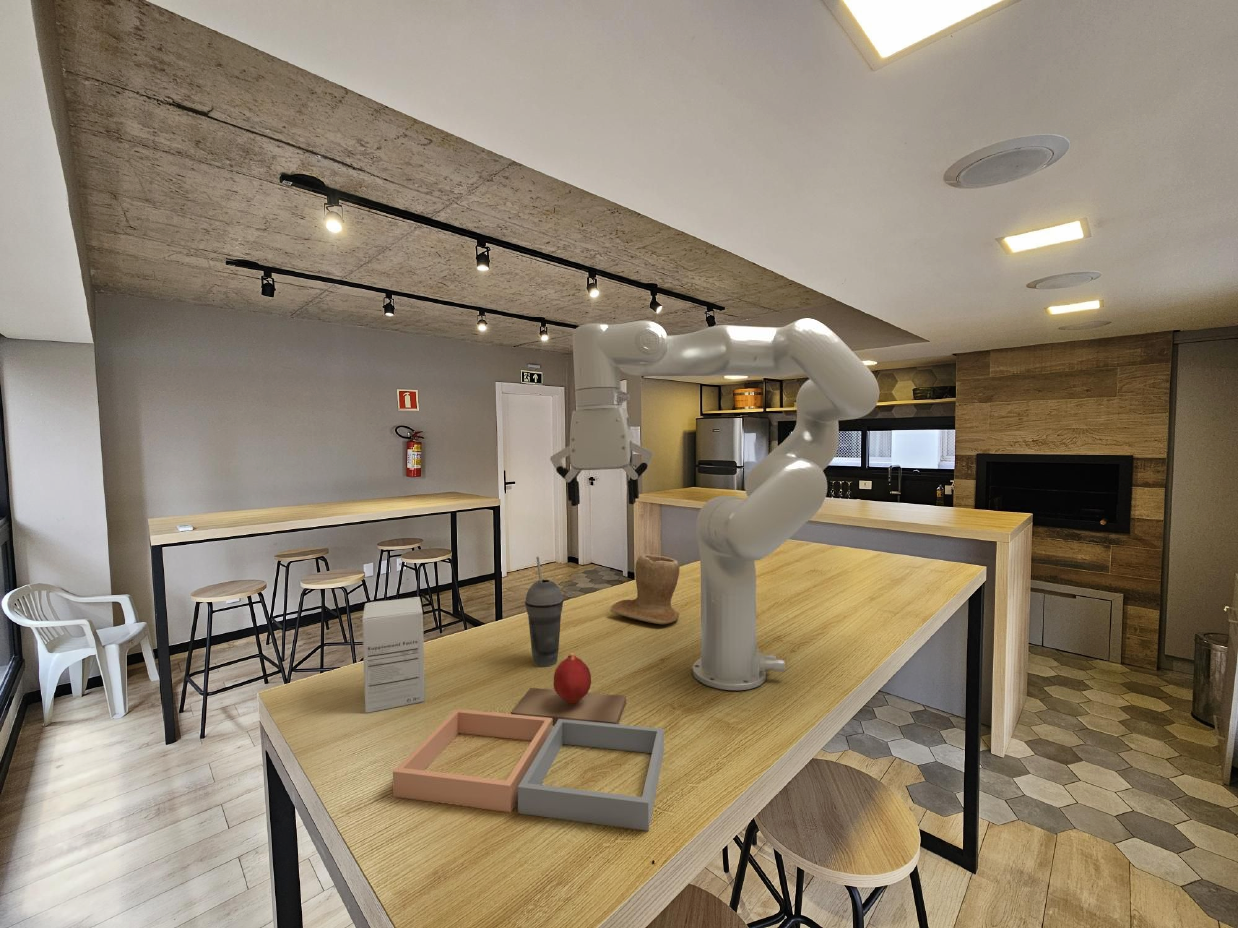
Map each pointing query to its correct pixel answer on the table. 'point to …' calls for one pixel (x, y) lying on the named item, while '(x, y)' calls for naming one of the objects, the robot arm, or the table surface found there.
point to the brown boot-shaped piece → (652, 591)
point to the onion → (572, 679)
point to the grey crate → (593, 803)
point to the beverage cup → (544, 620)
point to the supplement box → (393, 653)
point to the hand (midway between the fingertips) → (603, 504)
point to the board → (571, 706)
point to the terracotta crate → (468, 788)
